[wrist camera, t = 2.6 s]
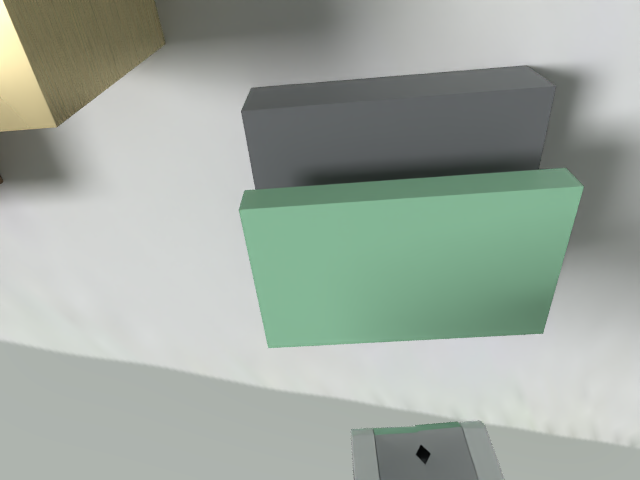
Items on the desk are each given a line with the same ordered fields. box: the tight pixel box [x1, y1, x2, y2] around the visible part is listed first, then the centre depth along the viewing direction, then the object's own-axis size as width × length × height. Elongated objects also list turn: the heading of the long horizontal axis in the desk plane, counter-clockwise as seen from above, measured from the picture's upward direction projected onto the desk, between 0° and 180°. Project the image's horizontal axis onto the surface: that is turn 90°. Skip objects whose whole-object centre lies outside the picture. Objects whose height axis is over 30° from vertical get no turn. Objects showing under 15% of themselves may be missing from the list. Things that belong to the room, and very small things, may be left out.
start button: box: [239, 168, 584, 348], centre depth 16 cm, size 10×6×3 cm, turn 95°
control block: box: [241, 66, 556, 190], centre depth 18 cm, size 10×10×2 cm
